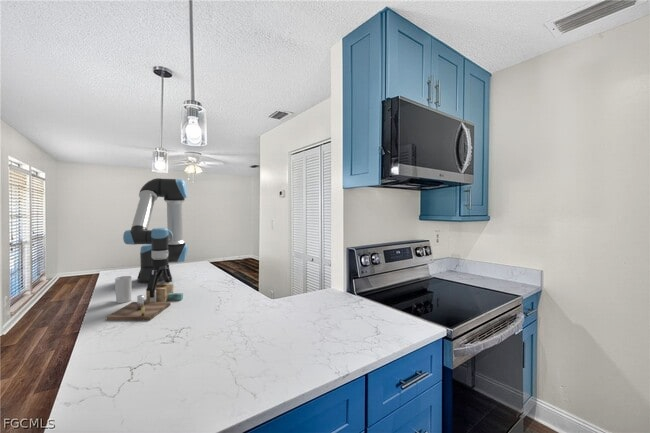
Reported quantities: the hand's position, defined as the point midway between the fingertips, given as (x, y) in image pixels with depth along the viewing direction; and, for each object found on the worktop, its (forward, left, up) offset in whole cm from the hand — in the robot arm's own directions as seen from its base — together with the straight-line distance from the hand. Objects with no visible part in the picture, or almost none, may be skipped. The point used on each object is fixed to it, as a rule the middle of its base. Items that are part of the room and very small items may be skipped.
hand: (160, 298), depth 148 cm
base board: (+17, 0, 0) cm, 17 cm away
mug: (+2, -18, 0) cm, 18 cm away
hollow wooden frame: (0, +3, 0) cm, 3 cm away
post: (+17, 0, +1) cm, 17 cm away
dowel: (+24, +5, +1) cm, 25 cm away
